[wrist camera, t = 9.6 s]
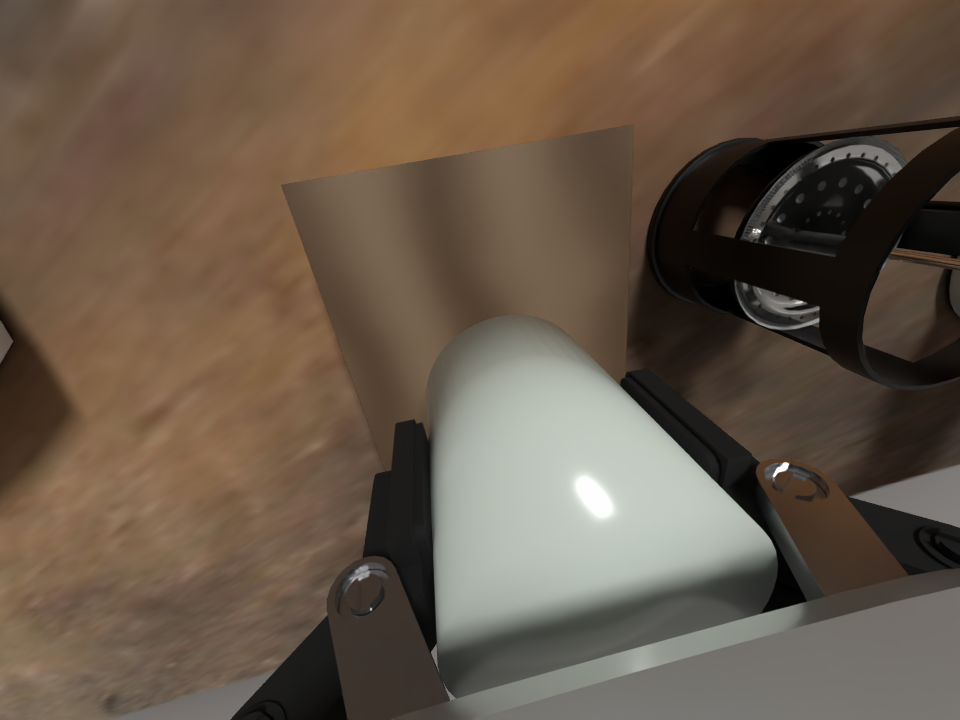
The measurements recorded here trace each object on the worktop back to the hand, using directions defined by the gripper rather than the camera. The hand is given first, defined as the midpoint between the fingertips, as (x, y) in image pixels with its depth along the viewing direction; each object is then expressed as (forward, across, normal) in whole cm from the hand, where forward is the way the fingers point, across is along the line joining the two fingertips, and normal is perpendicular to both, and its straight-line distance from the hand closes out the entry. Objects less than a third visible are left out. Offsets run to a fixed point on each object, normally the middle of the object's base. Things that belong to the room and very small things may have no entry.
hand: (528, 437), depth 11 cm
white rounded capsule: (+3, 0, 0) cm, 3 cm away
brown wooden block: (+13, 0, 0) cm, 13 cm away
